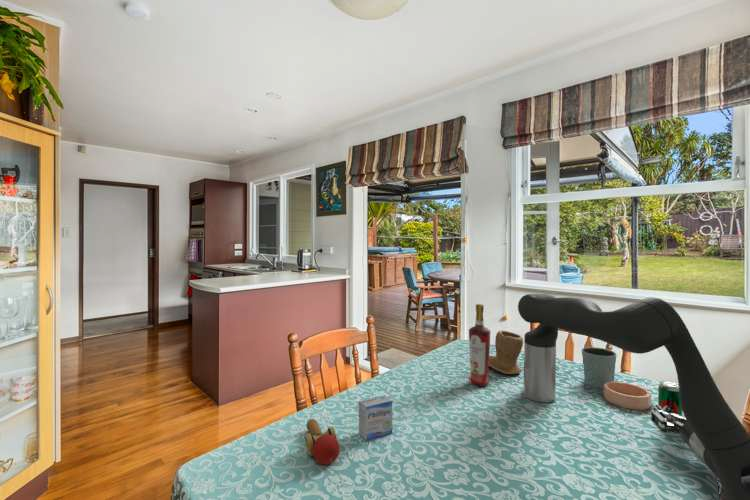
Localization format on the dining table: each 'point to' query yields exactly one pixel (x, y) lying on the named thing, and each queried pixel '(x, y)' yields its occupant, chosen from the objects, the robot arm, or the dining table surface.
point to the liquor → (479, 349)
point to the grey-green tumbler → (598, 366)
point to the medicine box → (375, 417)
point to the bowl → (627, 395)
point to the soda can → (669, 398)
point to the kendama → (321, 443)
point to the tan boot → (506, 352)
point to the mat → (619, 406)
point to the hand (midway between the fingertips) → (677, 411)
